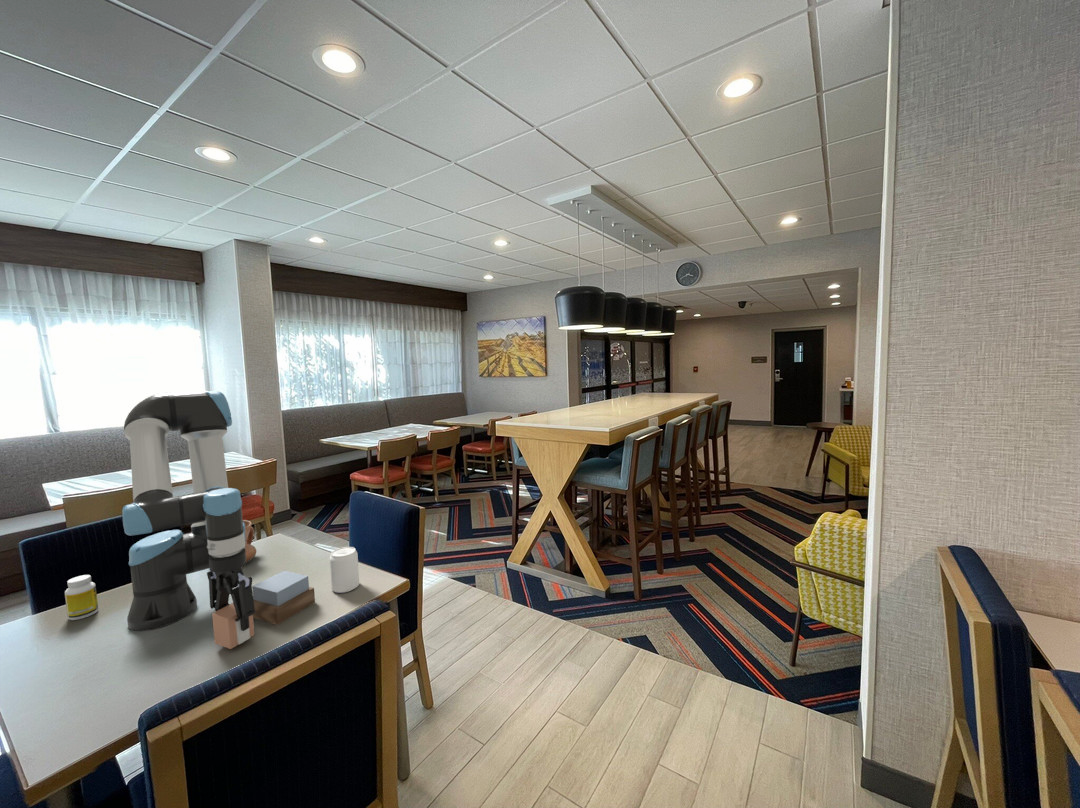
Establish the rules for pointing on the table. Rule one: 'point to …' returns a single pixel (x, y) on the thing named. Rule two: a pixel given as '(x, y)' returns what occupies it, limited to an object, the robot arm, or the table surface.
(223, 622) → the terracotta block
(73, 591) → the pill bottle
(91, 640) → the table surface
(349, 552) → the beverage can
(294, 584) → the slate block
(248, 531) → the ceramic jug
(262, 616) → the walnut block
